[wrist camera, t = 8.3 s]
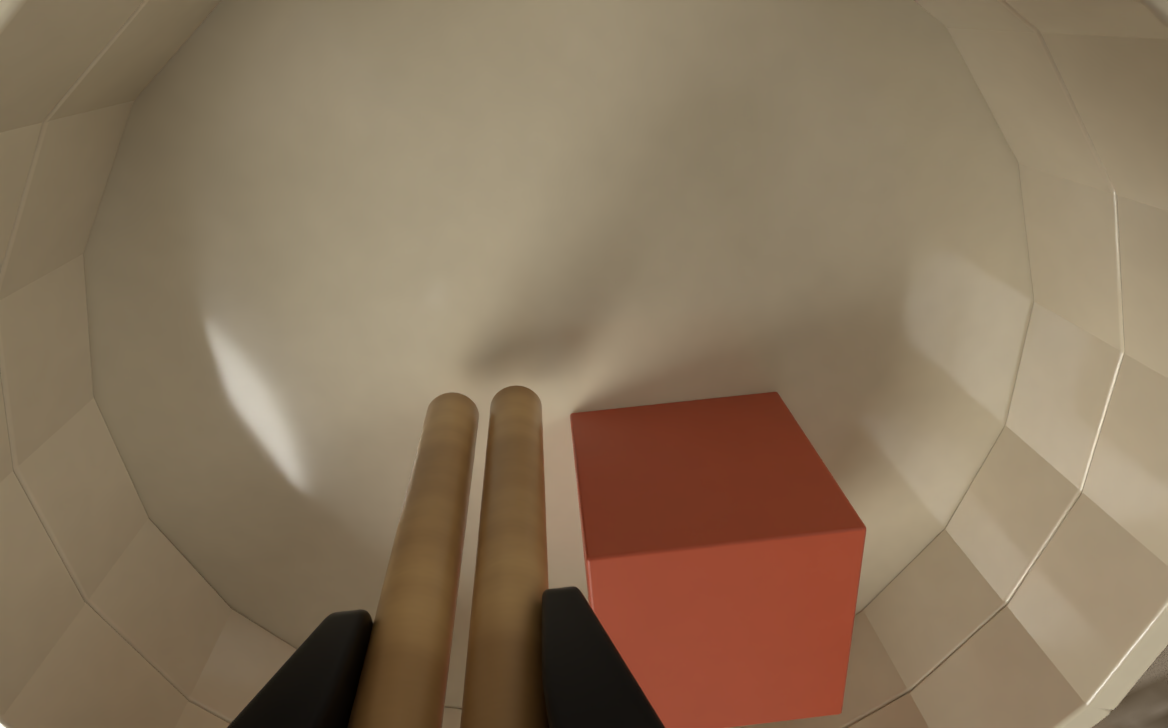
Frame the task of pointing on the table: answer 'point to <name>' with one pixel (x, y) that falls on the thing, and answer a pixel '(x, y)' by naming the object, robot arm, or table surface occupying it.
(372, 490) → the bowl
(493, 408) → the chopsticks
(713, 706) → the block
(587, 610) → the robot arm
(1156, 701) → the table surface
